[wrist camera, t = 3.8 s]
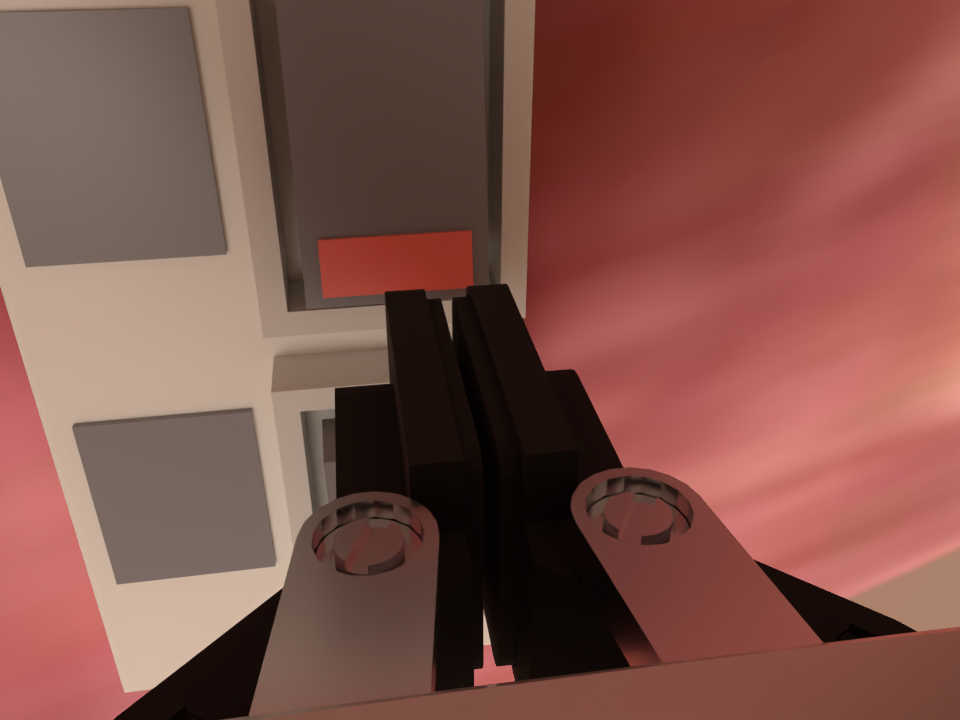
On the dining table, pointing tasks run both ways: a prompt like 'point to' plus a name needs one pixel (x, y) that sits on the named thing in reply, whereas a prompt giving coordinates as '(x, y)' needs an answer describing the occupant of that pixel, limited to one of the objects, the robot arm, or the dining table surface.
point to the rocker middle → (386, 146)
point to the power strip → (192, 295)
